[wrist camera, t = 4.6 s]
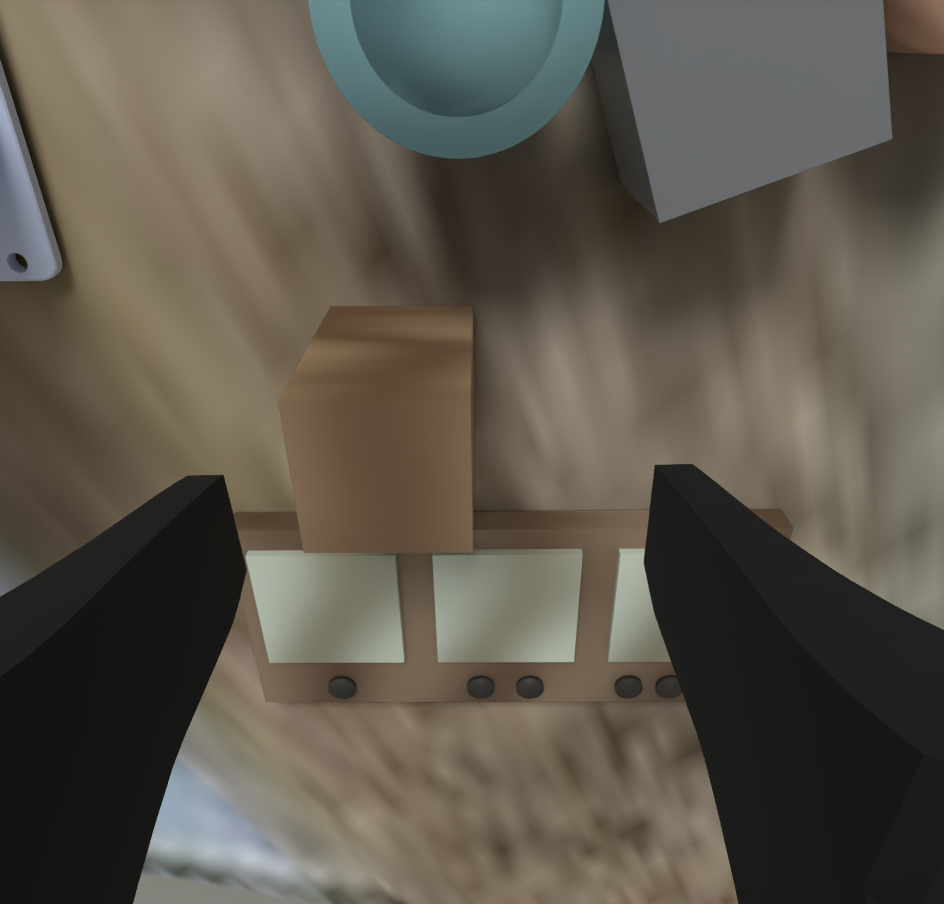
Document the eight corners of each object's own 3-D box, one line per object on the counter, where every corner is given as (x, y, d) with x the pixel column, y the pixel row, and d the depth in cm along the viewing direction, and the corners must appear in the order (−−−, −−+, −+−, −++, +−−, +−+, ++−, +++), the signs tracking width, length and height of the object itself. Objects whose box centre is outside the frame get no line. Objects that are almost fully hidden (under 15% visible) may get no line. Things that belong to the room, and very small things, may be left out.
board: (272, 681, 27) (263, 709, 26) (234, 512, 23) (222, 536, 22) (738, 680, 27) (749, 707, 26) (781, 509, 23) (797, 533, 22)
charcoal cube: (621, 184, 18) (659, 223, 14) (571, -13, 16) (600, -29, 12) (799, 117, 17) (892, 139, 13) (772, -99, 15) (872, -147, 11)
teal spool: (364, 131, 17) (326, 161, 13) (341, -126, 15) (285, -192, 11) (566, 127, 17) (595, 155, 13) (577, -133, 15) (617, -203, 11)
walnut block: (345, 431, 22) (303, 553, 17) (330, 306, 20) (277, 400, 15) (474, 430, 22) (472, 552, 17) (473, 304, 20) (470, 399, 15)
